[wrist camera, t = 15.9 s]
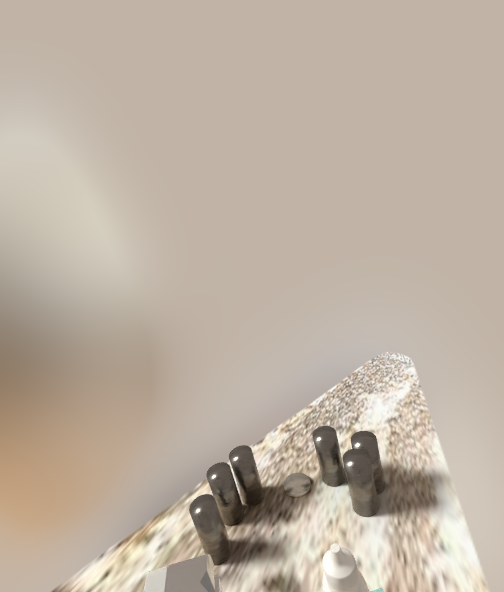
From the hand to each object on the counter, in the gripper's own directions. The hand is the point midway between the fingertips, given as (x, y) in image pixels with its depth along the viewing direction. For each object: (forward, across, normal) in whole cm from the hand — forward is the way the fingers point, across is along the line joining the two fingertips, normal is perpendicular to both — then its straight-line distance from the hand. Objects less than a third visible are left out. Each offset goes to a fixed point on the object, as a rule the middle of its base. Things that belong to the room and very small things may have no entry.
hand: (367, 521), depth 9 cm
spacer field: (+30, +1, +30) cm, 43 cm away
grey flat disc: (+33, 0, +30) cm, 45 cm away
